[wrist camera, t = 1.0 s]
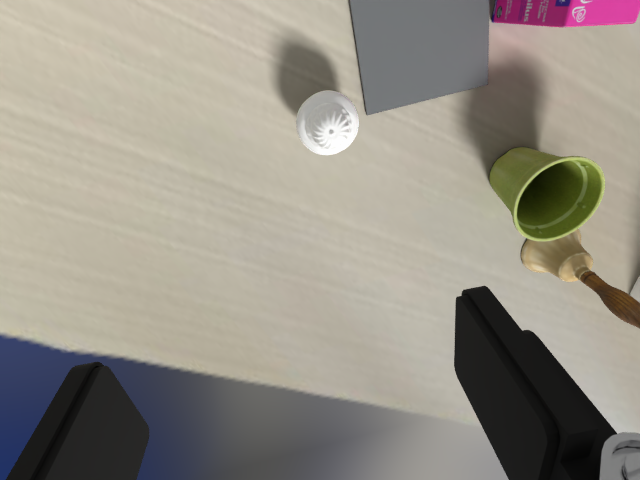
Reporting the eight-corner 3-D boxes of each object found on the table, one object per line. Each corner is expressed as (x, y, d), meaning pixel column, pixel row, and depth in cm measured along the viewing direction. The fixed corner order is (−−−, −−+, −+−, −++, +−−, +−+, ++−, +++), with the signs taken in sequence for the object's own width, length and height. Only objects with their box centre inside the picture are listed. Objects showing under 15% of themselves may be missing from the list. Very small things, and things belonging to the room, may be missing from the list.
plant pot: (467, 207, 48) (503, 243, 40) (485, 132, 43) (530, 158, 36) (536, 205, 49) (584, 240, 41) (562, 131, 44) (621, 156, 37)
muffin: (287, 136, 41) (290, 158, 35) (302, 76, 38) (308, 89, 32) (342, 150, 42) (354, 173, 36) (360, 93, 39) (376, 108, 33)
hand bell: (557, 209, 50) (666, 284, 36) (590, 238, 53) (702, 317, 39) (508, 254, 52) (592, 339, 39) (543, 279, 56) (631, 366, 42)
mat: (337, -76, 32) (338, -77, 32) (489, -116, 32) (491, -117, 31) (366, 114, 40) (367, 115, 40) (486, 83, 40) (487, 84, 40)
